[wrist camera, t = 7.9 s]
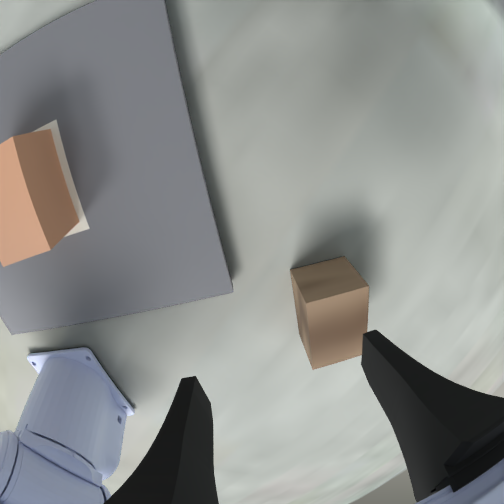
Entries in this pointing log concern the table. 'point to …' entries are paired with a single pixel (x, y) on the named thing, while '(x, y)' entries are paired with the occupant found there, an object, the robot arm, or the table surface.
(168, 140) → the tower board
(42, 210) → the brick terracotta
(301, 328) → the brick walnut
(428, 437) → the robot arm
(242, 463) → the table surface
